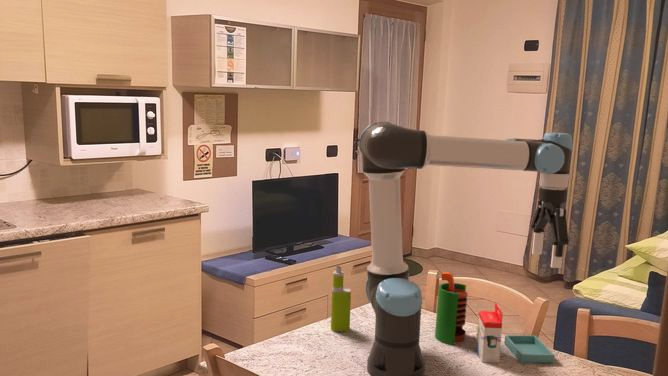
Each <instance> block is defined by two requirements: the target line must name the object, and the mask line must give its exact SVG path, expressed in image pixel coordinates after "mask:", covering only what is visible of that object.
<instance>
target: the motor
mask: <svg viewBox="0 0 668 376" xmlns="http://www.w3.org/2000/svg"><path fill="white" fill-rule="evenodd" d="M441 281H447V282H444V283H441V284H439V285H438V294H437V306H436V319H435V330H434V331H435V333H434V338H435V339H436V340H437V341H439V342H441V343H444V344H447V345H452V346H454V345H455V344H461V343H464V342H465V340H466V333H467V332H466V330H465V329H464V328H463V327H464V326H465V325H466V316H467V315H466V314H467V307H468V306H467V305H468V304H467V303H468V297H469V294H468V292H467V291H466V289H467V285H466V284H463V283H459V282H455V280H454V276H453V274H452V273H451V272H448V271H443V272H442V273H441Z"/></svg>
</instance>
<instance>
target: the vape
mask: <svg viewBox="0 0 668 376" xmlns="http://www.w3.org/2000/svg"><path fill="white" fill-rule="evenodd" d="M344 274H345V272H344V271H342V266H340V265H336V266H335V270H334V271H333V272H332V277H333V278H332V289H331V295H330V296H331V297H330V298H331V304H330V305H331V306H330V307H331V310H330V312H331V313H330V330H331V331H332V330H333V331H332V332H335V331H347V332H349V331H350V329H351V327H350V326H351V299H352V297H351V295H352V289H351V288H348V287H344V277H345V275H344Z"/></svg>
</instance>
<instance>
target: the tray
mask: <svg viewBox="0 0 668 376" xmlns="http://www.w3.org/2000/svg"><path fill="white" fill-rule="evenodd" d="M504 345H505V346H506V347H507V349H509V351H510V352H511V353H512V354H513V356H514V357H515V358H516V360H517V361H518V362H519V363H520V364H544V365H545V364H546V365H547V364H548V365H549V364H552V365H553V363H555V354H554V353H553V351H551V350H550V349H549V348H548V346H546V345H545V343H544V342H542V340H540V338H539V337H538V336H536V335H535V334H534V335H532V334H529V335H528V334H527V335H525V334H522V335H521V334H516V335H515V334H511V335H510V334H504Z"/></svg>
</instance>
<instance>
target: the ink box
mask: <svg viewBox="0 0 668 376" xmlns="http://www.w3.org/2000/svg"><path fill="white" fill-rule="evenodd" d="M502 328H503V311H502V310H501V308H500V306H499V305H498V303H497V301H496V302H495V303H494V311H491V310H490V311H488V310H479V311H478V323H477V332H478V333H477V341H476V344H475V345H476V346H475V350H476V352H477V354H478V356H479V358H480V360H481V362H482V363H500V355H501V342H502V341H501V340H502V331H503V329H502Z"/></svg>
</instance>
